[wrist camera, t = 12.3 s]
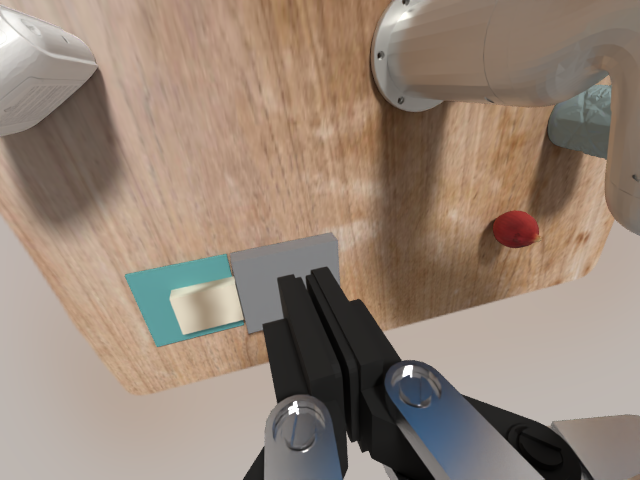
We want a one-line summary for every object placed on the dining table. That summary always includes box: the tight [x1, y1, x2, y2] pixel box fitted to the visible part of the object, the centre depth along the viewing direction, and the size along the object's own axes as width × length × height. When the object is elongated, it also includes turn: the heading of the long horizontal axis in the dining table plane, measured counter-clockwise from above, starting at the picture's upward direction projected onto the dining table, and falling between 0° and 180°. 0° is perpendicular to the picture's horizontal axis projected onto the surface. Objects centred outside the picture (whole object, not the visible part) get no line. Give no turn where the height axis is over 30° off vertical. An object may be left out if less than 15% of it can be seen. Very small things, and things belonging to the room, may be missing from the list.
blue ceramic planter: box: [548, 85, 612, 160], centre depth 42 cm, size 10×10×12 cm
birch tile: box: [170, 276, 244, 335], centre depth 41 cm, size 8×6×2 cm
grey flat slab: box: [230, 232, 340, 333], centre depth 44 cm, size 14×12×2 cm
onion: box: [493, 211, 542, 248], centre depth 48 cm, size 6×6×8 cm
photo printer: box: [0, 4, 98, 137], centre depth 23 cm, size 10×4×12 cm, turn 125°
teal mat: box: [125, 254, 244, 347], centre depth 42 cm, size 12×12×1 cm
